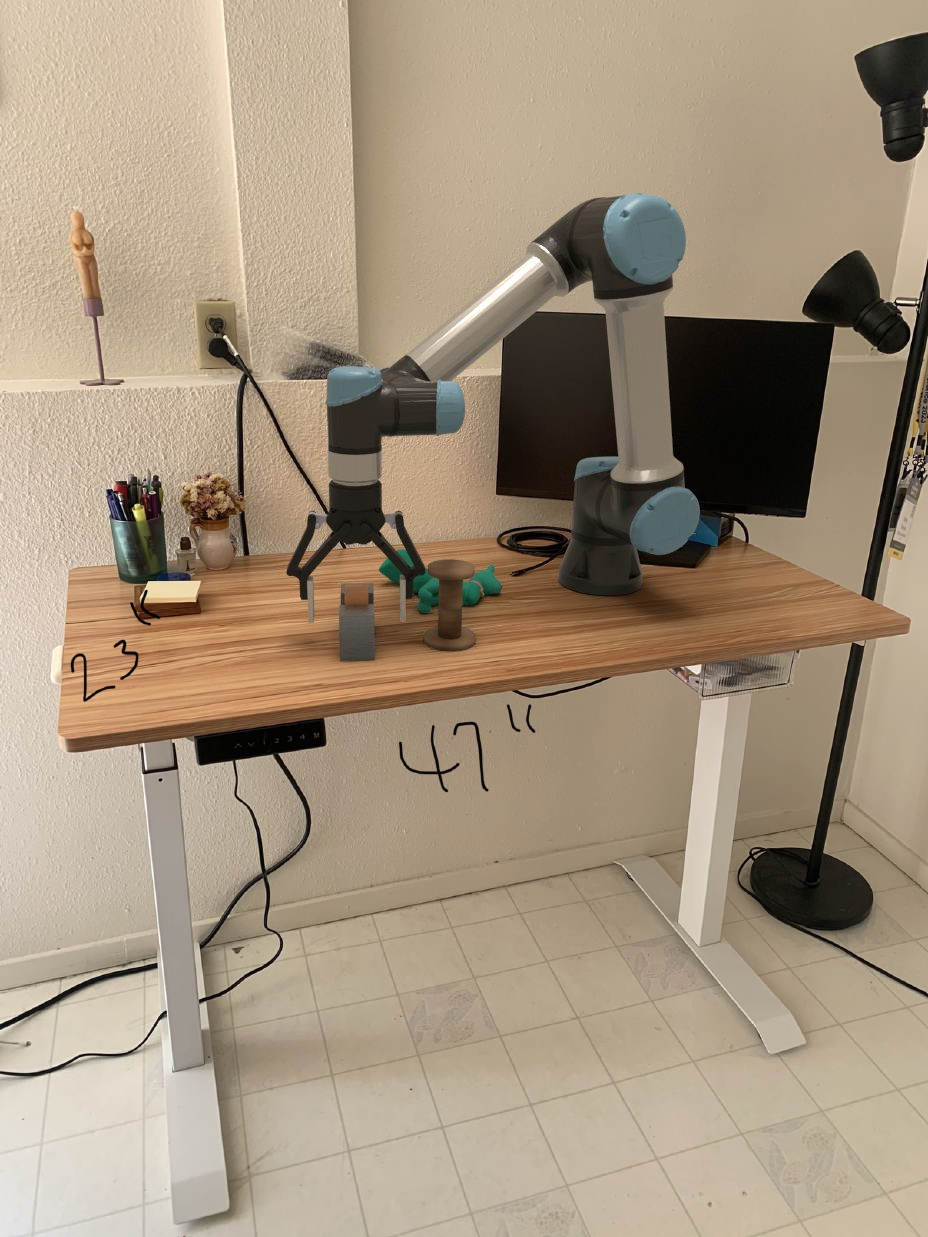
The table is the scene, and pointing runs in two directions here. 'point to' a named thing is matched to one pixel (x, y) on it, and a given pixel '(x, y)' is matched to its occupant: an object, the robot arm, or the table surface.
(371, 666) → the table surface
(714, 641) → the table surface
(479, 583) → the toy
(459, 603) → the bobbin
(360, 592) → the orange brown block
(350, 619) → the metal block
